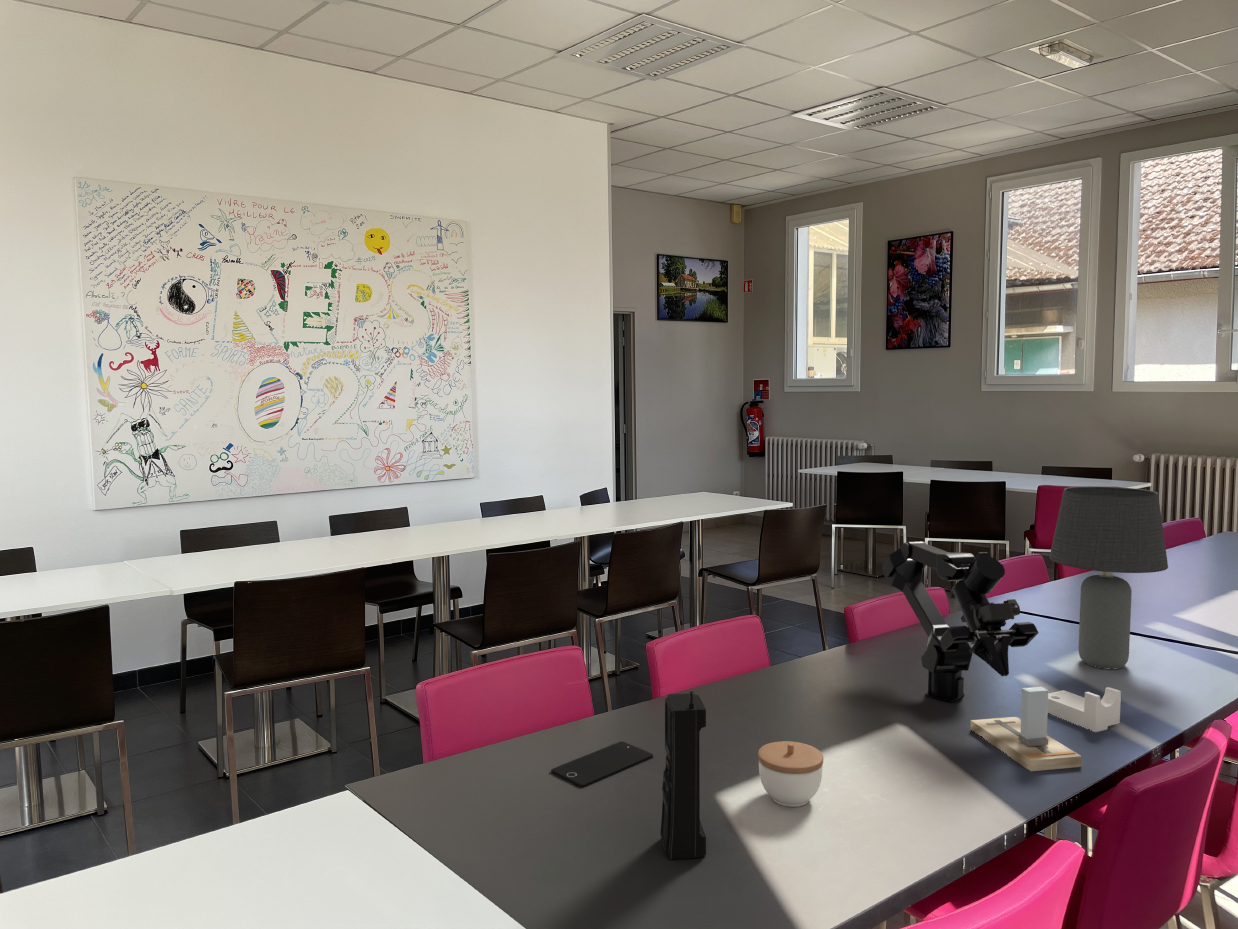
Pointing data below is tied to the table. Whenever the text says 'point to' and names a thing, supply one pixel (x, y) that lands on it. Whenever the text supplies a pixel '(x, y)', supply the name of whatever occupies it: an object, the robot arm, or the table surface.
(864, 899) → the table surface
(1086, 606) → the lamp
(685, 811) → the portable radio
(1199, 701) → the table surface
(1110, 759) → the table surface
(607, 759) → the cell phone
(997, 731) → the slider board
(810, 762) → the lidded jar
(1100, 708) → the bracket
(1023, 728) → the fader tab
